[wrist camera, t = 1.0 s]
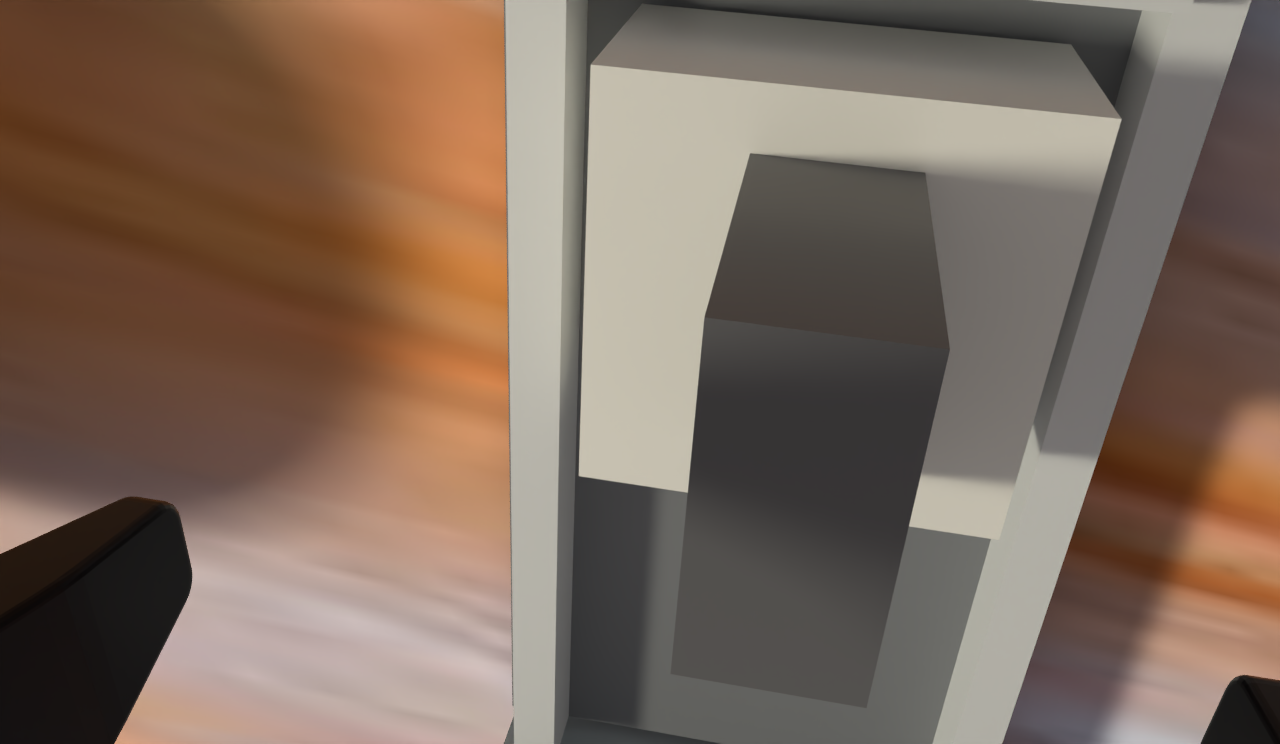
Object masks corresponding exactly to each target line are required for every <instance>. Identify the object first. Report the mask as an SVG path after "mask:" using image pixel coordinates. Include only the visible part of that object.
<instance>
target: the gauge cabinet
mask: <svg viewBox="0 0 1280 744" xmlns="http://www.w3.org/2000/svg"><path fill="white" fill-rule="evenodd" d="M504 744H514V717H513V720H512V723H511V725H510V728H509V731H508V734H507V737H506V739H505V742H504ZM560 744H720V743H715V742H709V741H704V740H698V739H693V738H687V737H682V736H676V735H671V734H665V733H660V732H654V731H649V730H643V729H638V728H632V727H627V726H621V725H616V724H610V723H605V722H599V721H594V720H588V719H583V718H577V717H572V716H569V717H568V720H567V723H566V727H565V730H564V733H563V737H562V740H561V743H560Z"/></svg>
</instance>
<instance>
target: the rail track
mask: <svg viewBox="0 0 1280 744" xmlns="http://www.w3.org/2000/svg"><path fill="white" fill-rule="evenodd" d="M1250 3H1251V0H504V38H505V120H506V202H507V284H508V366H509V449H510V531H511V613H512V695H513V706H514V744H560V743H561V740H562V737H563V733H564V730H565V727H566V723H567V720H568V717H569V716H572V717H577V718H583V719H588V720H594V721H599V722H605V723H610V724H616V725H621V726H627V727H632V728H638V729H643V730H649V731H654V732H660V733H665V734H671V735H676V736H682V737H687V738H693V739H698V740H704V741H709V742H715V743H720V744H1002V743H1003V740H1004V737H1005V734H1006V731H1007V728H1008V725H1009V722H1010V719H1011V716H1012V713H1013V710H1014V707H1015V704H1016V701H1017V698H1018V695H1019V692H1020V689H1021V686H1022V683H1023V680H1024V677H1025V674H1026V671H1027V668H1028V665H1029V662H1030V659H1031V656H1032V653H1033V650H1034V647H1035V644H1036V641H1037V639H1038V636H1039V633H1040V630H1041V627H1042V624H1043V621H1044V618H1045V615H1046V612H1047V609H1048V606H1049V603H1050V600H1051V597H1052V594H1053V591H1054V588H1055V585H1056V582H1057V579H1058V576H1059V573H1060V570H1061V567H1062V564H1063V561H1064V558H1065V555H1066V552H1067V549H1068V546H1069V543H1070V540H1071V537H1072V534H1073V531H1074V528H1075V525H1076V522H1077V519H1078V516H1079V513H1080V510H1081V507H1082V504H1083V501H1084V498H1085V495H1086V492H1087V489H1088V486H1089V483H1090V480H1091V477H1092V475H1093V472H1094V469H1095V466H1096V463H1097V460H1098V457H1099V454H1100V451H1101V448H1102V445H1103V442H1104V439H1105V436H1106V433H1107V430H1108V427H1109V424H1110V421H1111V418H1112V415H1113V412H1114V409H1115V406H1116V403H1117V400H1118V397H1119V394H1120V391H1121V388H1122V385H1123V382H1124V379H1125V376H1126V373H1127V370H1128V367H1129V364H1130V361H1131V358H1132V355H1133V352H1134V349H1135V346H1136V343H1137V340H1138V337H1139V334H1140V331H1141V328H1142V325H1143V322H1144V319H1145V316H1146V313H1147V310H1148V308H1149V305H1150V302H1151V299H1152V296H1153V293H1154V290H1155V287H1156V284H1157V281H1158V278H1159V275H1160V272H1161V269H1162V266H1163V263H1164V260H1165V257H1166V254H1167V251H1168V248H1169V245H1170V242H1171V239H1172V236H1173V233H1174V230H1175V227H1176V224H1177V221H1178V218H1179V215H1180V212H1181V209H1182V206H1183V203H1184V200H1185V197H1186V194H1187V191H1188V188H1189V185H1190V182H1191V179H1192V176H1193V173H1194V170H1195V167H1196V164H1197V161H1198V158H1199V155H1200V152H1201V149H1202V146H1203V144H1204V141H1205V138H1206V135H1207V132H1208V129H1209V126H1210V123H1211V120H1212V117H1213V114H1214V111H1215V108H1216V105H1217V102H1218V99H1219V96H1220V93H1221V90H1222V87H1223V84H1224V81H1225V78H1226V75H1227V72H1228V69H1229V66H1230V63H1231V60H1232V57H1233V54H1234V51H1235V48H1236V45H1237V42H1238V39H1239V36H1240V33H1241V30H1242V27H1243V24H1244V21H1245V18H1246V15H1247V12H1248V9H1249V6H1250ZM641 4H651V5H661V6H672V7H683V8H693V9H704V10H714V11H725V12H735V13H746V14H756V15H767V16H777V17H788V18H799V19H809V20H820V21H830V22H841V23H851V24H862V25H872V26H883V27H893V28H904V29H915V30H925V31H936V32H946V33H957V34H967V35H978V36H988V37H999V38H1009V39H1020V40H1030V41H1041V42H1052V43H1062V44H1071V45H1072V47H1073V48H1074V49H1075V51H1076V52H1077V54H1078V55H1079V57H1080V58H1081V60H1082V61H1083V63H1084V64H1085V66H1086V67H1087V69H1088V70H1089V72H1090V73H1091V75H1092V76H1093V78H1094V79H1095V80H1096V82H1097V83H1098V85H1099V86H1100V88H1101V89H1102V91H1103V92H1104V94H1105V95H1106V97H1107V98H1108V100H1109V101H1110V103H1111V104H1112V106H1113V107H1114V109H1115V110H1116V112H1117V113H1118V114H1119V116H1120V117H1121V119H1122V120H1121V123H1120V126H1119V130H1118V133H1117V137H1116V140H1115V144H1114V147H1113V150H1112V154H1111V157H1110V161H1109V164H1108V168H1107V171H1106V174H1105V178H1104V181H1103V185H1102V188H1101V192H1100V195H1099V199H1098V202H1097V205H1096V209H1095V212H1094V216H1093V219H1092V223H1091V226H1090V229H1089V233H1088V236H1087V240H1086V243H1085V247H1084V250H1083V254H1082V257H1081V260H1080V264H1079V267H1078V271H1077V274H1076V278H1075V281H1074V284H1073V288H1072V291H1071V295H1070V298H1069V302H1068V305H1067V309H1066V312H1065V315H1064V319H1063V322H1062V326H1061V329H1060V333H1059V336H1058V339H1057V343H1056V346H1055V350H1054V353H1053V357H1052V360H1051V363H1050V367H1049V370H1048V374H1047V377H1046V381H1045V384H1044V388H1043V391H1042V394H1041V398H1040V401H1039V405H1038V408H1037V412H1036V415H1035V418H1034V422H1033V425H1032V429H1031V432H1030V436H1029V439H1028V443H1027V446H1026V449H1025V453H1024V456H1023V460H1022V463H1021V467H1020V470H1019V473H1018V477H1017V480H1016V484H1015V487H1014V491H1013V494H1012V497H1011V501H1010V504H1009V508H1008V511H1007V515H1006V518H1005V522H1004V525H1003V528H1002V532H1001V535H1000V539H999V540H995V539H988V538H982V537H975V536H969V535H962V534H956V533H949V532H942V531H936V530H929V529H923V528H916V527H910V526H909V528H908V532H907V536H906V541H905V545H904V549H903V554H902V558H901V562H900V566H899V571H898V575H897V579H896V584H895V588H894V592H893V596H892V601H891V605H890V609H889V614H888V618H887V622H886V626H885V631H884V635H883V639H882V644H881V648H880V652H879V657H878V661H877V665H876V669H875V674H874V678H873V682H872V687H871V691H870V695H869V699H868V704H867V708H863V707H857V706H851V705H845V704H840V703H834V702H828V701H822V700H817V699H811V698H805V697H799V696H794V695H788V694H782V693H776V692H771V691H765V690H759V689H754V688H748V687H742V686H736V685H731V684H725V683H719V682H713V681H708V680H702V679H696V678H690V677H685V676H679V675H673V674H671V663H672V653H673V642H674V632H675V621H676V611H677V600H678V590H679V579H680V569H681V558H682V547H683V537H684V526H685V516H686V505H687V495H688V493H687V492H680V491H673V490H667V489H660V488H654V487H647V486H641V485H634V484H628V483H621V482H614V481H608V480H601V479H595V478H588V477H582V476H579V449H580V414H581V379H582V345H583V310H584V276H585V241H586V207H587V172H588V138H589V103H590V68H591V63H592V62H593V61H594V60H595V59H596V58H597V56H598V55H599V54H600V53H601V52H602V50H603V49H604V48H605V47H606V46H607V45H608V43H609V42H610V41H611V40H612V39H613V37H614V36H615V35H616V34H617V33H618V32H619V30H620V29H621V28H622V27H623V26H624V24H625V23H626V22H627V21H628V20H629V19H630V17H631V16H632V15H633V14H634V13H635V11H636V10H637V9H638V8H639V7H640V6H641Z"/></svg>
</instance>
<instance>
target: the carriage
mask: <svg viewBox="0 0 1280 744" xmlns="http://www.w3.org/2000/svg"><path fill="white" fill-rule="evenodd" d="M1121 120H1122V119H1121V117H1120V116H1119V114H1118V113H1117V112H1116V110H1115V109H1114V107H1113V106H1112V104H1111V103H1110V101H1109V100H1108V98H1107V97H1106V95H1105V94H1104V92H1103V91H1102V89H1101V88H1100V86H1099V85H1098V83H1097V82H1096V80H1095V79H1094V78H1093V76H1092V75H1091V73H1090V72H1089V70H1088V69H1087V67H1086V66H1085V64H1084V63H1083V61H1082V60H1081V58H1080V57H1079V55H1078V54H1077V52H1076V51H1075V49H1074V48H1073V47H1072V45H1071V44H1062V43H1052V42H1041V41H1030V40H1020V39H1009V38H999V37H988V36H978V35H967V34H957V33H946V32H936V31H925V30H915V29H904V28H893V27H883V26H872V25H862V24H851V23H841V22H830V21H820V20H809V19H799V18H788V17H777V16H767V15H756V14H746V13H735V12H725V11H714V10H704V9H693V8H683V7H672V6H661V5H651V4H641V6H640V7H639V8H638V9H637V10H636V11H635V13H634V14H633V15H632V16H631V17H630V19H629V20H628V21H627V22H626V23H625V24H624V26H623V27H622V28H621V29H620V30H619V32H618V33H617V34H616V35H615V36H614V37H613V39H612V40H611V41H610V42H609V43H608V45H607V46H606V47H605V48H604V49H603V50H602V52H601V53H600V54H599V55H598V56H597V58H596V59H595V60H594V61H593V62H592V63H591V68H590V103H589V138H588V172H587V207H586V241H585V276H584V310H583V345H582V379H581V414H580V449H579V476H582V477H588V478H595V479H601V480H608V481H614V482H621V483H628V484H634V485H641V486H647V487H654V488H660V489H667V490H673V491H680V492H687V493H688V495H687V505H686V516H685V526H684V537H683V547H682V558H681V569H680V579H679V590H678V600H677V611H676V621H675V632H674V642H673V653H672V663H671V674H673V675H679V676H685V677H690V678H696V679H702V680H708V681H713V682H719V683H725V684H731V685H736V686H742V687H748V688H754V689H759V690H765V691H771V692H776V693H782V694H788V695H794V696H799V697H805V698H811V699H817V700H822V701H828V702H834V703H840V704H845V705H851V706H857V707H863V708H867V704H868V699H869V695H870V691H871V687H872V682H873V678H874V674H875V669H876V665H877V661H878V657H879V652H880V648H881V644H882V639H883V635H884V631H885V626H886V622H887V618H888V614H889V609H890V605H891V601H892V596H893V592H894V588H895V584H896V579H897V575H898V571H899V566H900V562H901V558H902V554H903V549H904V545H905V541H906V536H907V532H908V528H909V526H910V527H916V528H923V529H929V530H936V531H942V532H949V533H956V534H962V535H969V536H975V537H982V538H988V539H995V540H999V539H1000V535H1001V532H1002V528H1003V525H1004V522H1005V518H1006V515H1007V511H1008V508H1009V504H1010V501H1011V497H1012V494H1013V491H1014V487H1015V484H1016V480H1017V477H1018V473H1019V470H1020V467H1021V463H1022V460H1023V456H1024V453H1025V449H1026V446H1027V443H1028V439H1029V436H1030V432H1031V429H1032V425H1033V422H1034V418H1035V415H1036V412H1037V408H1038V405H1039V401H1040V398H1041V394H1042V391H1043V388H1044V384H1045V381H1046V377H1047V374H1048V370H1049V367H1050V363H1051V360H1052V357H1053V353H1054V350H1055V346H1056V343H1057V339H1058V336H1059V333H1060V329H1061V326H1062V322H1063V319H1064V315H1065V312H1066V309H1067V305H1068V302H1069V298H1070V295H1071V291H1072V288H1073V284H1074V281H1075V278H1076V274H1077V271H1078V267H1079V264H1080V260H1081V257H1082V254H1083V250H1084V247H1085V243H1086V240H1087V236H1088V233H1089V229H1090V226H1091V223H1092V219H1093V216H1094V212H1095V209H1096V205H1097V202H1098V199H1099V195H1100V192H1101V188H1102V185H1103V181H1104V178H1105V174H1106V171H1107V168H1108V164H1109V161H1110V157H1111V154H1112V150H1113V147H1114V144H1115V140H1116V137H1117V133H1118V130H1119V126H1120V123H1121Z"/></svg>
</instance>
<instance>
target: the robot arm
mask: <svg viewBox="0 0 1280 744" xmlns="http://www.w3.org/2000/svg"><path fill="white" fill-rule="evenodd" d="M191 584H192V568H191V563H190V559H189V554H188V550H187V546H186V541H185V537H184V532H183V528H182V523H181V519H180V515H179V512H178V511H177V509H176V508H175V507H174V506H173V505H172V504H170V503H168V502H166V501H160V500H153V499H147V498H141V497H126V498H123V499H120V500H118V501H116V502H114V503H111V504H109V505H107V506H105V507H103V508H100V509H98V510H96V511H94V512H92V513H89V514H87V515H85V516H83V517H81V518H79V519H76V520H74V521H72V522H70V523H68V524H65V525H63V526H61V527H59V528H57V529H54V530H52V531H50V532H48V533H46V534H43V535H41V536H39V537H37V538H35V539H33V540H30V541H28V542H26V543H24V544H22V545H19V546H17V547H15V548H13V549H11V550H8V551H6V552H4V553H2V554H0V744H114V743H115V741H116V739H117V737H118V735H119V734H120V732H121V730H122V728H123V726H124V724H125V722H126V721H127V719H128V717H129V715H130V713H131V711H132V709H133V707H134V705H135V703H136V701H137V699H138V697H139V695H140V693H141V691H142V689H143V687H144V685H145V683H146V681H147V679H148V677H149V675H150V673H151V671H152V669H153V667H154V665H155V663H156V661H157V659H158V657H159V655H160V653H161V651H162V649H163V647H164V645H165V643H166V641H167V639H168V637H169V635H170V633H171V631H172V629H173V627H174V625H175V623H176V621H177V619H178V617H179V615H180V613H181V611H182V609H183V607H184V605H185V603H186V601H187V598H188V596H189V593H190V589H191ZM1201 744H1280V680H1274V679H1268V678H1262V677H1255V676H1249V675H1242V676H1238V677H1235V678H1234V679H1233V680H1232V681H1231V682H1230V683H1229V685H1228V686H1227V688H1226V690H1225V692H1224V694H1223V696H1222V698H1221V701H1220V703H1219V705H1218V707H1217V709H1216V711H1215V713H1214V716H1213V718H1212V720H1211V722H1210V724H1209V726H1208V728H1207V731H1206V733H1205V735H1204V737H1203V739H1202V742H1201Z"/></svg>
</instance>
